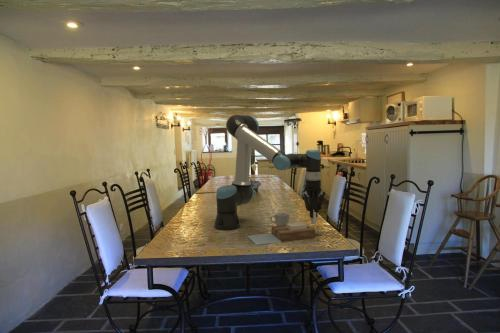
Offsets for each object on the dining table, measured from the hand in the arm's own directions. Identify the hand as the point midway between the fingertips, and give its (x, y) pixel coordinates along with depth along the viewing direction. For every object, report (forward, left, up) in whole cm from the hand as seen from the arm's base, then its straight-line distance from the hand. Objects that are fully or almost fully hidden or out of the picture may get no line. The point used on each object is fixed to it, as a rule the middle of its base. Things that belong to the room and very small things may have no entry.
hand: (313, 223), depth 172 cm
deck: (0, -12, -5) cm, 13 cm away
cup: (-18, -12, -6) cm, 22 cm away
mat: (0, -28, -5) cm, 28 cm away
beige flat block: (0, -10, -1) cm, 10 cm away
